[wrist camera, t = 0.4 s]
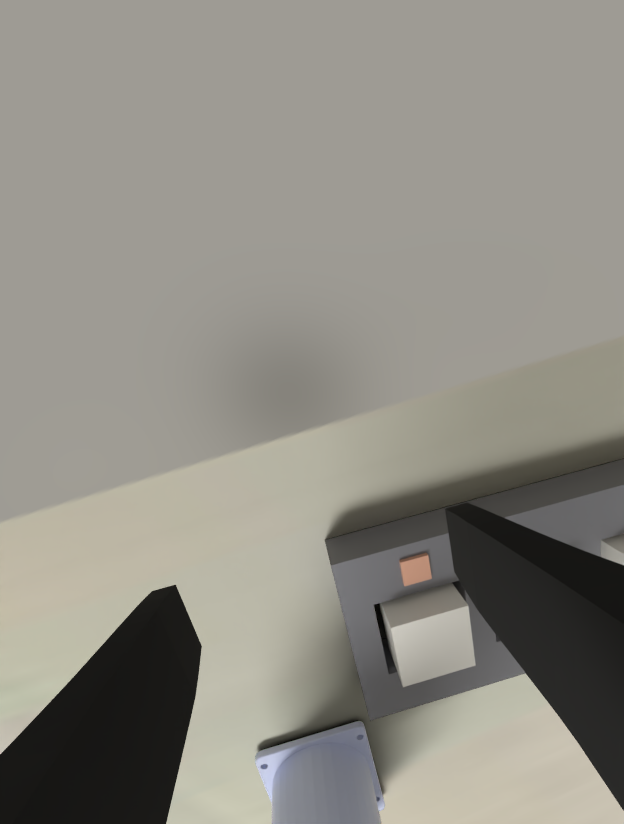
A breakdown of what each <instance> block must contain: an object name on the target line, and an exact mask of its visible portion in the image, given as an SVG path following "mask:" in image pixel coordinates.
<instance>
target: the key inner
mask: <svg viewBox="0 0 624 824" xmlns="http://www.w3.org/2000/svg"><path fill="white" fill-rule="evenodd" d="M379 604H380V609H381V614H382V619H383V623H384V628H385V633H386V637H387V642H388V647H389V650H390V652H391V655H392V658H393V661H394V664H395V666H396V669H397V672H398V675H399V677H400V680H401V683H402V686H403V687H406V686H409V685H412V684H416V683H419V682H422V681H426V680H429V679H432V678H436V677H439V676H442V675H446V674H449V673H452V672H456V671H459V670H462V669H466V668H469V667H472V666H476V664H475V656H474V648H473V640H472V631H471V623H470V615H469V607H468V604H467V603H466V602H465V600H464V599H463V597H462V596H461V595H460V593H459V592H458V590H457V589H456V588H455V586H454V585H453V583H448V584H445V585H441V586H438V587H434V588H431V589H427V590H424V591H420V592H417V593H413V594H410V595H406V596H403V597H399V598H396V599H392V600H389V601H385V602H382V603H379Z"/></svg>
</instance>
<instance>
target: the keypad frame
mask: <svg viewBox="0 0 624 824" xmlns="http://www.w3.org/2000/svg"><path fill="white" fill-rule="evenodd" d="M463 503H469V504H472V505H475V506H477V507H480V508H482V509H485V510H487V511H489V512H492V513H494V514H496V515H499V516H501V517H503V518H506V519H508V520H510V521H513V522H515V523H517V524H520V525H522V526H524V527H527V528H529V529H531V530H534V531H536V532H539V533H541V534H543V535H546V536H548V537H551V538H553V539H556V540H558V541H561V542H563V543H566V544H568V545H571V546H573V547H576V548H578V549H581V550H584V551H586V552H589V553H592V554H594V555H597V556H600V557H601V540H603V539H606V538H610V537H613V536H617V535H620V534H624V459H621V460H618V461H614V462H610V463H607V464H603V465H599V466H596V467H592V468H588V469H584V470H581V471H577V472H573V473H570V474H566V475H562V476H559V477H555V478H551V479H548V480H544V481H540V482H537V483H533V484H529V485H526V486H522V487H518V488H515V489H511V490H507V491H504V492H500V493H496V494H493V495H489V496H485V497H482V498H478V499H474V500H471V501H467V502H463ZM463 503H459V504H456V505H460V504H463ZM456 505H452V506H448V507H445V508H441V509H437V510H434V511H430V512H426V513H423V514H419V515H415V516H412V517H408V518H404V519H401V520H397V521H393V522H390V523H386V524H382V525H379V526H375V527H371V528H368V529H364V530H360V531H357V532H353V533H349V534H346V535H342V536H338V537H334V538H331V539H327V540H325V543H326V547H327V551H328V555H329V560H330V564H331V568H332V572H333V576H334V580H335V584H336V588H337V592H338V596H339V599H340V603H341V607H342V611H343V615H344V619H345V623H346V627H347V631H348V635H349V639H350V643H351V647H352V651H353V655H354V659H355V663H356V667H357V671H358V675H359V679H360V683H361V687H362V691H363V695H364V698H365V702H366V706H367V710H368V714H369V718H370V721H371V720H374V719H377V718H380V717H384V716H387V715H390V714H393V713H397V712H400V711H403V710H407V709H410V708H413V707H416V706H420V705H423V704H426V703H430V702H433V701H436V700H439V699H443V698H446V697H449V696H453V695H456V694H459V693H462V692H466V691H469V690H472V689H476V688H479V687H482V686H485V685H489V684H492V683H495V682H499V681H502V680H505V679H508V678H512V677H515V676H518V675H521V674H525V671H524V670H523V669H522V668H521V666H520V665H519V664H518V662H517V661H516V660H515V659H514V657H513V656H512V655H511V653H510V652H509V651H508V649H507V648H506V647H505V646H504V644H503V643H502V642H501V640H500V639H499V638H498V636H497V635H496V634H495V633H494V631H493V630H492V629H491V627H490V626H489V625H488V623H487V622H486V621H485V619H484V618H483V617H482V615H481V614H480V613H479V611H478V610H477V608H476V607H475V605H474V604H473V602H472V600H471V599H470V597H469V596H468V594H467V592H466V591H465V589H464V587H463V586H462V584H461V582H460V581H459V579H458V577H457V576H456V574H455V572H454V567H453V560H452V553H451V546H450V540H449V533H448V526H447V519H446V513H445V509H446V508H449V507H453V506H456ZM448 583H453V585H454V586H455V588H456V589H457V590H458V592H459V593H460V595H461V596H462V597H463V599H464V600H465V602H466V603H467V604H468V607H469V615H470V623H471V631H472V640H473V648H474V656H475V664H476V666H472V667H469V668H466V669H462V670H459V671H456V672H452V673H449V674H446V675H442V676H439V677H436V678H432V679H429V680H426V681H422V682H419V683H416V684H412V685H409V686H406V687H403V686H402V683H401V680H400V677H399V675H398V672H397V669H396V666H395V664H394V661H393V658H392V655H391V652H390V650H389V647H388V642H387V638H386V639H382V640H381V636H380V632H379V627H378V623H377V618H376V613H375V609H374V605H375V604H378V603H382V602H385V601H389V600H392V599H396V598H399V597H403V596H406V595H410V594H413V593H417V592H420V591H424V590H427V589H431V588H434V587H438V586H441V585H445V584H448Z"/></svg>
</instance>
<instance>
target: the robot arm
mask: <svg viewBox="0 0 624 824" xmlns="http://www.w3.org/2000/svg"><path fill="white" fill-rule="evenodd" d="M445 513H446V519H447V526H448V533H449V540H450V546H451V553H452V560H453V567H454V572H455V574H456V576H457V577H458V579H459V581H460V582H461V584H462V586H463V587H464V589H465V591H466V592H467V594H468V596H469V597H470V599H471V600H472V602H473V604H474V605H475V607H476V608H477V610H478V611H479V613H480V614H481V615H482V617H483V618H484V619H485V621H486V622H487V623H488V625H489V626H490V627H491V629H492V630H493V631H494V633H495V634H496V635H497V636H498V638H499V639H500V640H501V642H502V643H503V644H504V646H505V647H506V648H507V649H508V651H509V652H510V653H511V655H512V656H513V657H514V659H515V660H516V661H517V662H518V664H519V665H520V666H521V668H522V669H523V670H524V671H525V673H526V674H527V675H528V677H529V678H530V679H531V681H532V682H533V683H534V684H535V686H536V687H537V688H538V690H539V691H540V692H541V694H542V695H543V696H544V697H545V699H546V700H547V701H548V703H549V704H550V705H551V706H552V708H553V709H554V710H555V712H556V713H557V714H558V716H559V717H560V718H561V720H562V721H563V723H564V724H565V725H566V727H567V728H568V729H569V731H570V732H571V734H572V735H573V736H574V738H575V739H576V740H577V742H578V743H579V745H580V746H581V748H582V749H583V751H584V752H585V754H586V755H587V757H588V758H589V760H590V761H591V763H592V764H593V766H594V767H595V769H596V770H597V772H598V773H599V775H600V776H601V778H602V779H603V781H604V782H605V784H606V785H607V787H608V788H609V789H610V791H611V792H612V794H613V795H614V797H615V798H616V800H617V801H618V803H619V804H620V806H621V807H622V809H623V810H624V565H622V564H619V563H616V562H613V561H611V560H608V559H605V558H602V557H600V556H597V555H594V554H592V553H589V552H586V551H584V550H581V549H578V548H576V547H573V546H571V545H568V544H566V543H563V542H561V541H558V540H556V539H553V538H551V537H548V536H546V535H543V534H541V533H539V532H536V531H534V530H531V529H529V528H527V527H524V526H522V525H520V524H517V523H515V522H513V521H510V520H508V519H506V518H503V517H501V516H499V515H496V514H494V513H492V512H489V511H487V510H485V509H482V508H480V507H477V506H475V505H472V504H469V503H463V504H460V505H456V506H453V507H449V508H446V509H445ZM201 647H202V646H201V644H200V641H199V639H198V637H197V634H196V632H195V629H194V627H193V625H192V622H191V620H190V618H189V615H188V613H187V611H186V608H185V606H184V603H183V601H182V599H181V596H180V594H179V592H178V589H177V587H176V585H173V586H169V587H166V588H162V589H159V590H155V591H152V592H151V593H150V594H149V595H148V596H147V597H146V598H145V599H144V600H143V601H142V602H141V603H140V604H139V605H138V606H137V607H136V608H135V609H134V610H133V612H132V613H131V614H130V615H129V616H128V617H127V618H126V619H125V620H124V622H123V623H122V624H121V625H120V626H119V627H118V628H117V629H116V630H115V632H114V633H113V634H112V635H111V636H110V637H109V638H108V639H107V641H106V642H105V643H104V644H103V645H102V646H101V647H100V648H99V649H98V651H97V652H96V653H95V654H94V655H93V656H92V657H91V658H90V659H89V661H88V662H87V663H86V664H85V665H84V666H83V667H82V668H81V669H80V671H79V672H78V673H77V674H76V675H75V676H74V677H73V678H72V679H71V681H70V682H69V683H68V684H67V685H66V686H65V687H64V688H63V689H62V690H61V691H60V692H59V693H58V694H57V695H56V697H55V698H54V699H53V700H52V701H51V702H50V703H49V704H48V705H47V706H46V707H45V708H44V709H43V710H42V711H41V712H40V713H39V715H38V716H37V717H36V718H35V719H34V720H33V721H32V722H31V723H30V724H29V725H28V726H27V727H26V728H25V729H24V730H23V731H22V733H21V734H20V735H19V736H18V737H17V738H16V739H15V740H14V741H13V742H12V743H11V744H10V745H9V746H8V747H7V748H6V749H5V750H4V751H3V752H2V753H1V754H0V824H166V821H167V817H168V813H169V809H170V804H171V800H172V796H173V791H174V787H175V783H176V779H177V774H178V770H179V766H180V762H181V757H182V753H183V749H184V745H185V740H186V736H187V731H188V727H189V723H190V718H191V714H192V709H193V705H194V700H195V696H196V688H197V681H198V674H199V665H200V656H201ZM255 763H256V766H257V768H258V771H259V773H260V776H261V778H262V781H263V783H264V786H265V788H266V791H267V793H268V796H269V798H270V801H271V803H272V824H381V819H380V814H379V811H381V810H383V809H384V807H385V803H384V799H383V795H382V791H381V787H380V783H379V780H378V776H377V772H376V768H375V764H374V760H373V756H372V753H371V749H370V745H369V741H368V737H367V733H366V730H365V726H364V723H363V722H361V721H356V722H353V723H349V724H346V725H343V726H340V727H336V728H333V729H330V730H326V731H323V732H320V733H317V734H313V735H310V736H307V737H303V738H300V739H297V740H294V741H290V742H287V743H284V744H280V745H277V746H274V747H271V748H267V749H264V750H261V751H259V752H258V753H257V754H256V756H255Z"/></svg>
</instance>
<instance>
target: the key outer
mask: <svg viewBox="0 0 624 824" xmlns="http://www.w3.org/2000/svg"><path fill="white" fill-rule="evenodd" d="M601 557H602V558H605V559H608V560H611V561H613V562H616V563H619V564H622V565H624V534H620V535H617V536H613V537H610V538H606V539H603V540H601Z"/></svg>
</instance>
